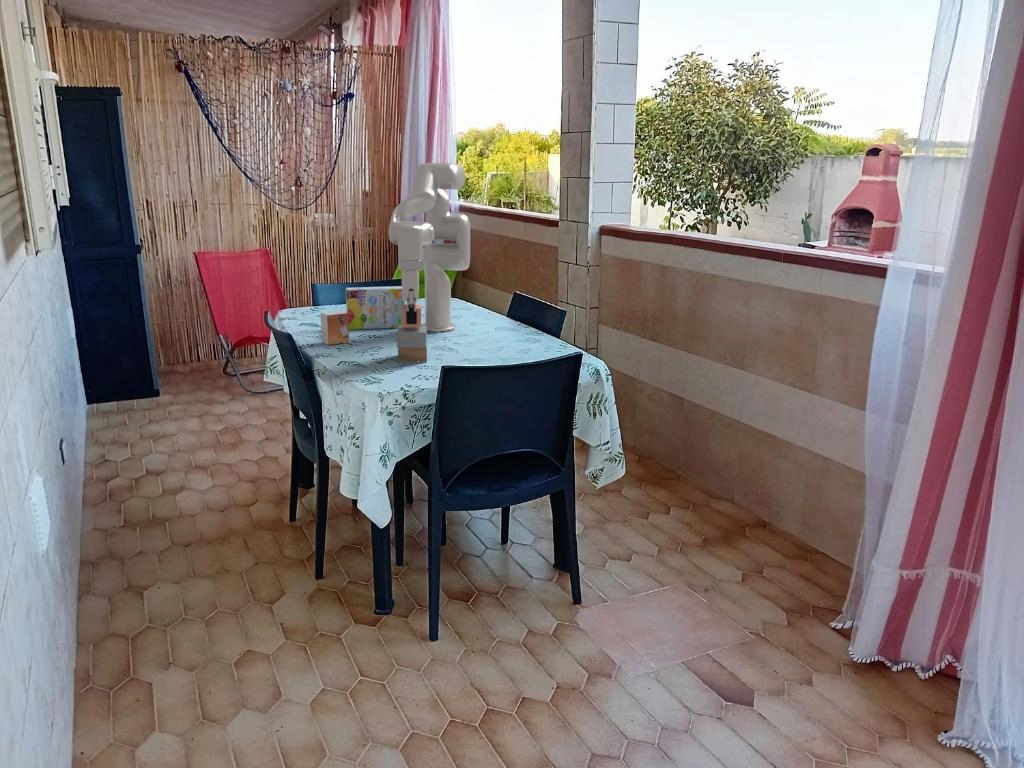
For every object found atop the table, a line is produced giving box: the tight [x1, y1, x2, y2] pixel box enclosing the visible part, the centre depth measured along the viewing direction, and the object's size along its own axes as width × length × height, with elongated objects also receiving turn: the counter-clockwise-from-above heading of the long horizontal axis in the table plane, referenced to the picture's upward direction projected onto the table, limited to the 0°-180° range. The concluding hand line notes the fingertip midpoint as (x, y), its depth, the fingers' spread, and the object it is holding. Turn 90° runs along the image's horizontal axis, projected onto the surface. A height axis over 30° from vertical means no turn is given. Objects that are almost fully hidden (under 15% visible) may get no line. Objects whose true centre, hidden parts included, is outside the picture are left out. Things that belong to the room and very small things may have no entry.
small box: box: [320, 310, 350, 346], centre depth 265 cm, size 8×6×10 cm
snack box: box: [345, 285, 406, 330], centre depth 288 cm, size 21×6×15 cm, turn 104°
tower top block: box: [396, 326, 428, 349], centre depth 247 cm, size 9×9×5 cm
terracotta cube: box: [402, 304, 422, 327], centre depth 245 cm, size 6×6×6 cm
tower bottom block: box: [397, 342, 428, 363], centre depth 248 cm, size 9×9×5 cm
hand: (411, 321), depth 246 cm, fingers closed on terracotta cube, 5 cm apart
